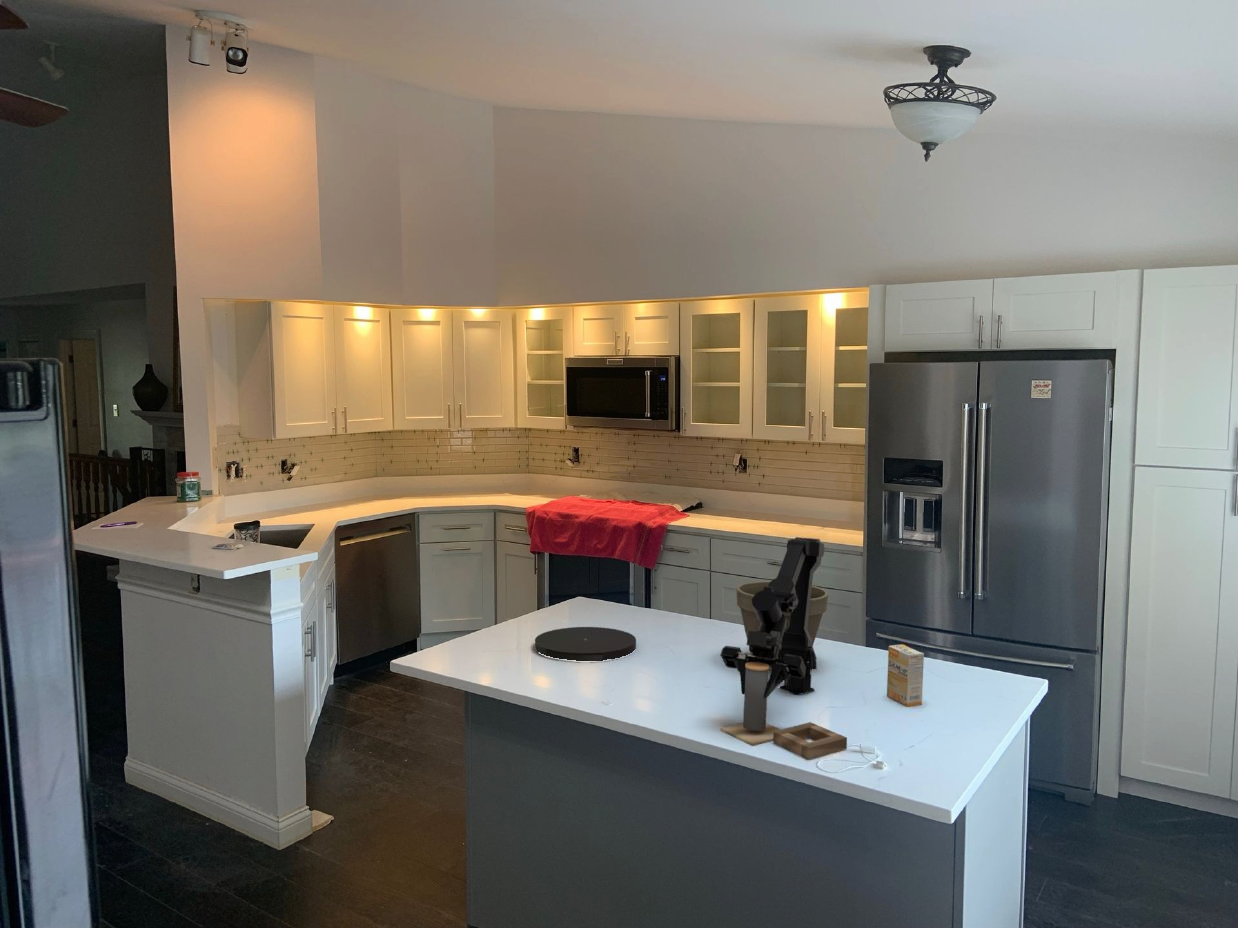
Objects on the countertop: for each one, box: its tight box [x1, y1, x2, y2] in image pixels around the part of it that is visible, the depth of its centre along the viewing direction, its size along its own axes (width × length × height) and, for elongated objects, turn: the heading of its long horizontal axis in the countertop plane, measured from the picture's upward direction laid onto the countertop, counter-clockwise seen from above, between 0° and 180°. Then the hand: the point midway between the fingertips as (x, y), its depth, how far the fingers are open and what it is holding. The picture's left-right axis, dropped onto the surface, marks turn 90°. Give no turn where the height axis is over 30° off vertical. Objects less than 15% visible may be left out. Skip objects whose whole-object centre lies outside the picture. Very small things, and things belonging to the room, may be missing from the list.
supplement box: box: [886, 644, 925, 707], centre depth 230 cm, size 8×5×13 cm, turn 21°
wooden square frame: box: [772, 721, 848, 761], centre depth 201 cm, size 11×11×2 cm
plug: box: [742, 662, 769, 731], centre depth 208 cm, size 5×5×14 cm
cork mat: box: [719, 722, 781, 747], centre depth 208 cm, size 11×11×1 cm
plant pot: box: [736, 580, 829, 673], centre depth 259 cm, size 25×25×22 cm
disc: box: [534, 626, 637, 661], centre depth 276 cm, size 30×30×3 cm
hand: (753, 695), depth 207 cm, fingers closed on plug, 5 cm apart
